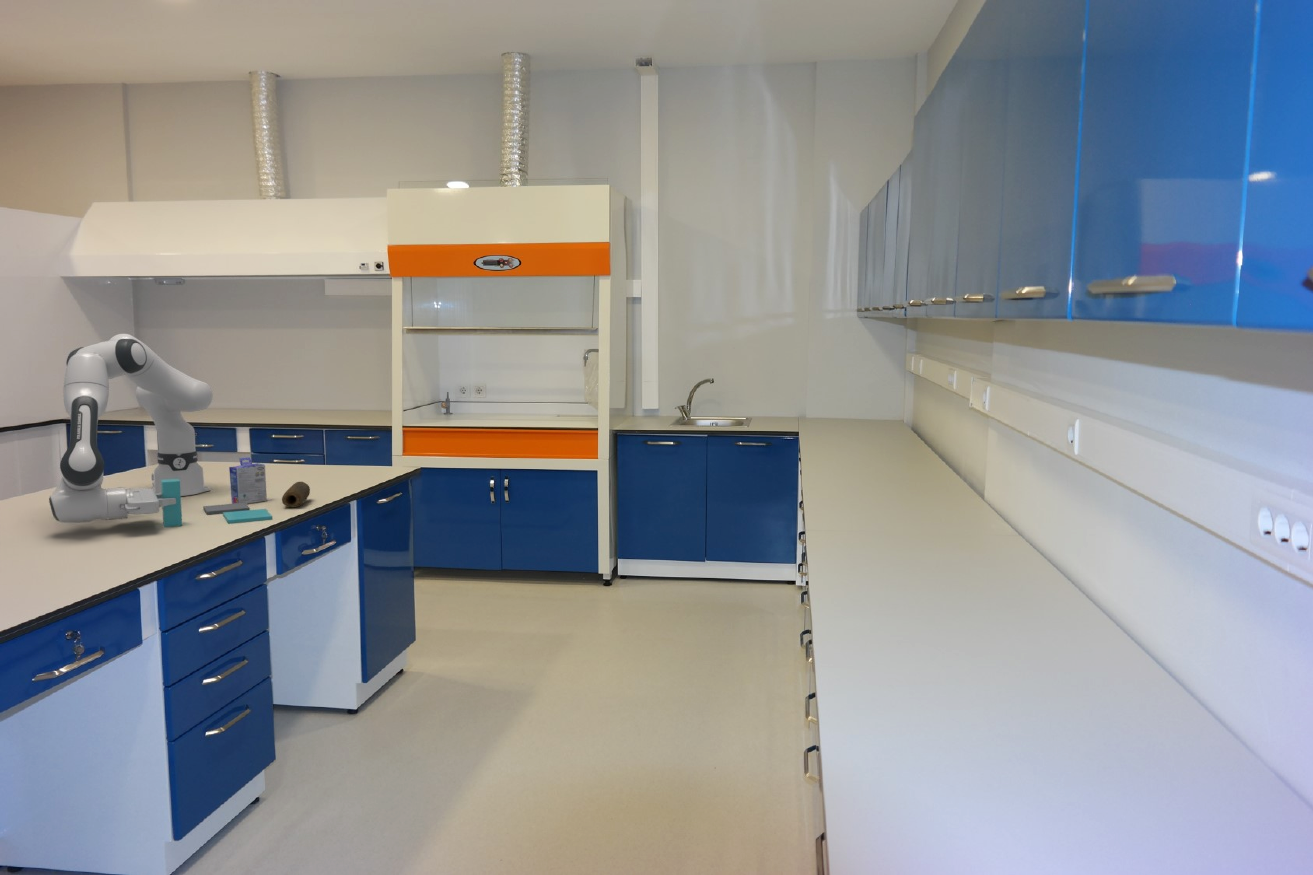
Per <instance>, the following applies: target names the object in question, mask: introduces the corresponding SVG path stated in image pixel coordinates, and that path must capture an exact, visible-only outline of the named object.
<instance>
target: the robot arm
mask: <svg viewBox="0 0 1313 875" xmlns="http://www.w3.org/2000/svg"><path fill="white" fill-rule="evenodd" d="M65 365H66V369H65V374H64V377H63V378H64V380H63V388H62V389H63V390H62V392H63V396H62V397H63V403H64V407H65V408H64V409H65V412H66V413H67V414H68V415H69V417H70V428H69V430H70V431H69V432H70V433H69V444H68V445H69V446H68V448H67V449H66V451H65V452H64V453H63V455H62V457H61V460H60V464H59V469H60V472H61V475H62V476H61V477H60V480H59V483H58V485H57V486H56V488H55V490H54V491H53V492H52V494H51V495H49V497H48V498H49V499H48V500H49V501H48V503H49V506H50V509H51V514H52V516H53V518H54V519H55V520H56V521H57V522H59V523H67V524H74V523H89V522H93V521H98V520H101V521H112V520H113V521H114V520H123V519H125V520H126V519H128V515H149V514H150V515H152V514H157V513H159V512H160V507H161V508H162V507H163V506H167V505H173V504H176V499H175V498H174V497H173V498H166V499H162V491H161V480H166V479H179V480H180V493H181V497H185V496H192V495H193V496H194V495H198V494H201V493H205V492H209V491H211V487H209V486H207V485H205V478H204V468H203V467H202V466H201V465H200V464H199V463H198V458H199V457H198V451H197V450H196V434H195V428H194V426H193V425H191V424H190V423H189V422H187V421H186V420H185V418H184V417H183V415H182V413H181V412H187V413H191V412H192V413H193V412H199V411H204V410H206V409H208V408H209V407H210V406H211V403H212V402H213V390H212V388H211V387H210V385H209V384H208V383H207V382H204V381H202V380H199V379H196V378H194V377H192V376H189V375H188V374H186V373H185V372H182V371H181V370H179V369H177V368H175V367H173V366H171V365H170V364H169V363H167V362H166V361H165V360H164V359H162V358H161V357H160V356H159V355H158V354H157V353H156V352H154V350H152V349H151V348H150V347H149V346H148V345H147V344H146V343H144V342H143V341H141V340H140V339H138V338H136V337H135V336H133V335H131V334H129V333H118V334H116V335H113V336H112V337H111V338H110V339H109V340H106V341H100V342H98V343H94V344H91V345H87V346H85V347H84V346H80V347H78V348H75V349H74V350H72V351H70V353H69V354H68V356H67V358H66V364H65ZM123 376H125V377H127V378H128V379H129V380H130V381H131V382H132V383H134V384H135V385H136V386H137V387H136V388H135V389H136V390H135V398H136V401H137V402H138V404H139V405H140V406H141V407H142V408H144V410H146V411H147V413H148V414H149V416H150V417H151V419H152V421H153V423H154V426H155V429H156V434H157V435H156V436H157V444H158V446H157V447H158V452H157V454H156V455H157V457H156V460H157V464H158V465H157V467H156V468H154V470H153V472H152V473H151V481H152V487H151V488H145V487H144V488H141V487H139V488H126V486H125V487H124V486H120V487H119V486H118V487H110V488H109V487H108V488H102V484H103V482H104V469H105V461H104V460H105V459H104V457H103V455H102V453H101V452H100V450H99V448H98V422H99V418H100V417H102V416H103V415H104V414H105V413H106V410H107V406H108V401H109V394H110V393H109V388H110V386H109V384H110V383H109V381H110V380H111V379H115V378H118V377H123Z"/></svg>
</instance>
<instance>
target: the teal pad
mask: <svg viewBox="0 0 1313 875" xmlns="http://www.w3.org/2000/svg"><path fill="white" fill-rule="evenodd" d="M222 517H223V518H224V520H225V521H226V522H227V524H228V525H229V524H239V523H240V524H241V523H249V522H259V521H262V522H263V521H272V520H273V515H272V514H271V513H270V512H269V511H268V510H267V508H259V509H250V510H246V511H235V512H223V513H222Z"/></svg>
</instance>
